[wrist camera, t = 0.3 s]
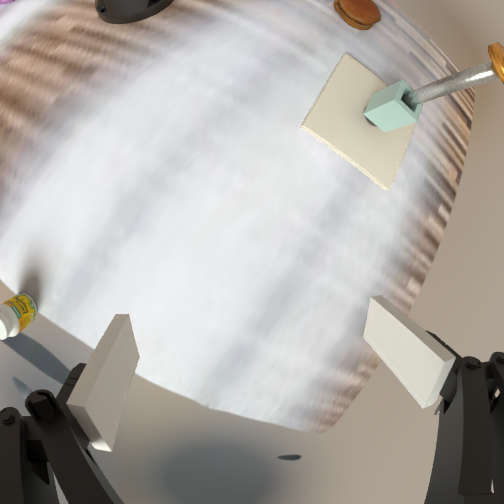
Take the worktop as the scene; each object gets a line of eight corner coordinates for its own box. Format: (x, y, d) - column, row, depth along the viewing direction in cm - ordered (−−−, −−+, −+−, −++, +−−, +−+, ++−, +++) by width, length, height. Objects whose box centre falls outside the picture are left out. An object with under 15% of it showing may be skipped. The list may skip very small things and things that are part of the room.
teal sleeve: (363, 114, 36) (394, 99, 28) (372, 95, 35) (402, 79, 28) (384, 132, 37) (417, 121, 29) (392, 112, 36) (424, 100, 29)
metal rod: (352, 118, 38) (546, 45, 4) (363, 97, 38) (536, 20, 4) (376, 137, 39) (569, 94, 6) (385, 115, 39) (560, 64, 5)
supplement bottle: (13, 308, 34) (-16, 328, 24) (20, 285, 34) (-11, 303, 24) (33, 326, 35) (6, 350, 26) (41, 304, 35) (12, 326, 26)
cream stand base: (299, 127, 38) (303, 124, 37) (342, 56, 37) (345, 53, 36) (384, 190, 42) (389, 190, 41) (413, 116, 41) (418, 114, 40)
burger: (363, 37, 37) (375, 27, 33) (325, 9, 35) (334, -3, 31) (378, 19, 37) (389, 10, 32) (344, -7, 35) (353, -18, 30)
